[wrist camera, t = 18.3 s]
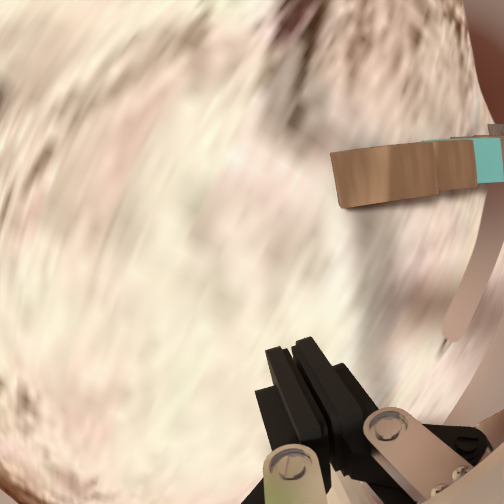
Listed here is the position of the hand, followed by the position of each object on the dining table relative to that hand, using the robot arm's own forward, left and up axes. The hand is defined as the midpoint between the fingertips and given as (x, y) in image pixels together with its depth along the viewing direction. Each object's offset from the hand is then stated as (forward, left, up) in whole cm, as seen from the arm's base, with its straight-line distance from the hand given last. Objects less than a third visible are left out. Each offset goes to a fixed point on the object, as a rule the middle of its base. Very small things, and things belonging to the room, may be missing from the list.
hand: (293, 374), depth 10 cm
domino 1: (+4, -10, -17) cm, 20 cm away
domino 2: (+4, -17, -17) cm, 24 cm away
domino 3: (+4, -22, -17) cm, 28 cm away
